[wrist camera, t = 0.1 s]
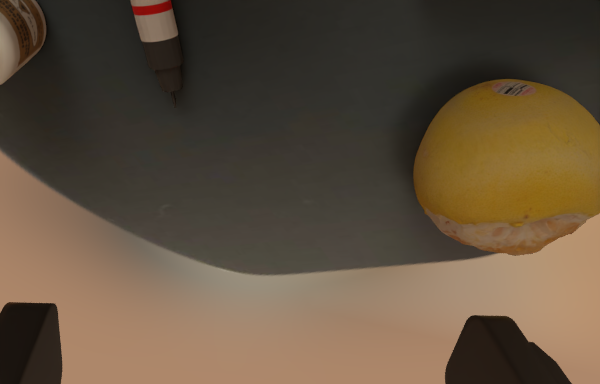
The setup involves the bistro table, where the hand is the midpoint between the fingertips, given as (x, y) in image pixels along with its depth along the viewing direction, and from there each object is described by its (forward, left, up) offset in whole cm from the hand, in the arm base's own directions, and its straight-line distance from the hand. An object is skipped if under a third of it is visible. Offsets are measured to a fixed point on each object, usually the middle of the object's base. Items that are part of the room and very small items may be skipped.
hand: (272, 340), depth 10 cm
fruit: (+4, +16, -23) cm, 28 cm away
